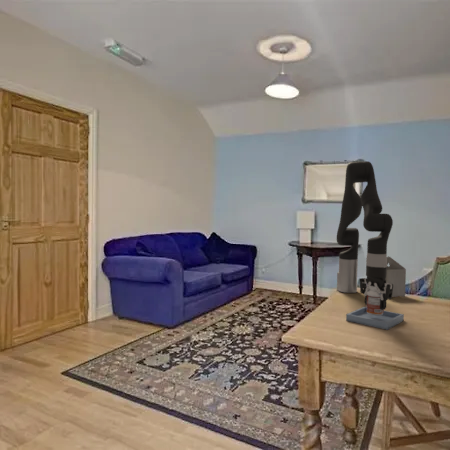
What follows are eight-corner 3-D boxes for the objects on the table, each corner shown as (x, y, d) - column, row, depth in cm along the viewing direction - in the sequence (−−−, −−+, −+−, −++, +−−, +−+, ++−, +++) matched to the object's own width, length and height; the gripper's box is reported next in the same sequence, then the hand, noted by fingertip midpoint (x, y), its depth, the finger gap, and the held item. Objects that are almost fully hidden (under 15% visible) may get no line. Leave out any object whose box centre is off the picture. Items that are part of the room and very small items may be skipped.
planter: (367, 295, 195) (368, 256, 194) (370, 292, 202) (372, 255, 201) (403, 299, 187) (404, 259, 186) (405, 296, 193) (406, 257, 192)
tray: (346, 320, 152) (346, 314, 151) (364, 312, 163) (364, 306, 163) (387, 329, 140) (387, 323, 140) (403, 320, 152) (403, 314, 152)
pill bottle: (371, 310, 156) (372, 283, 155) (386, 314, 151) (387, 286, 151) (363, 313, 152) (364, 285, 152) (378, 317, 147) (379, 288, 147)
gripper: (355, 263, 155) (353, 304, 156) (386, 268, 143) (384, 313, 143) (367, 261, 159) (366, 302, 160) (399, 266, 146) (397, 310, 147)
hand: (375, 307), depth 152 cm, fingers closed on pill bottle, 6 cm apart
